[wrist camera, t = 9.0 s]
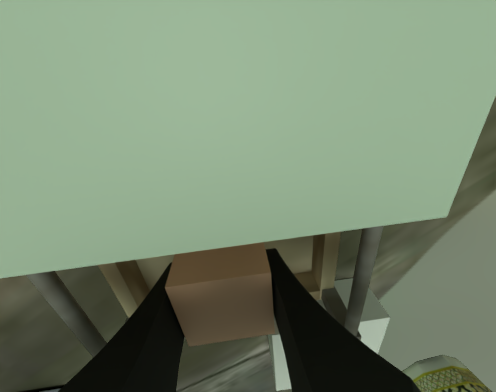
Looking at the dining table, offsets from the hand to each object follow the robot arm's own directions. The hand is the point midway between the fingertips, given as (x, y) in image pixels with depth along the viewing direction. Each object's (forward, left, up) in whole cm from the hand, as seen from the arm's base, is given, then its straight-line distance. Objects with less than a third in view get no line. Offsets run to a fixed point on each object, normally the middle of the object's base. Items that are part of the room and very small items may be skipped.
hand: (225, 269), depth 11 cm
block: (0, 0, -2) cm, 2 cm away
